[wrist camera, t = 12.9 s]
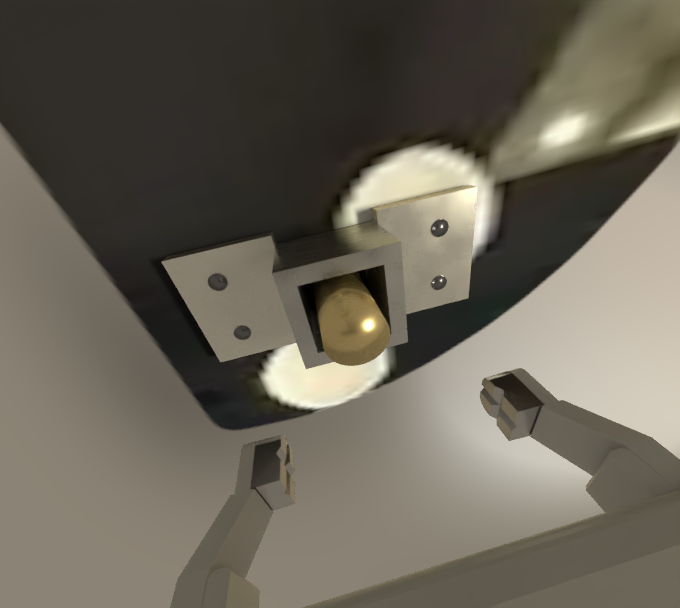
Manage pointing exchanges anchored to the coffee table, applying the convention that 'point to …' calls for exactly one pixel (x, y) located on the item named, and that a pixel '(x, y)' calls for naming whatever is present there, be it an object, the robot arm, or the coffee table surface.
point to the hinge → (329, 275)
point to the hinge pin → (349, 320)
